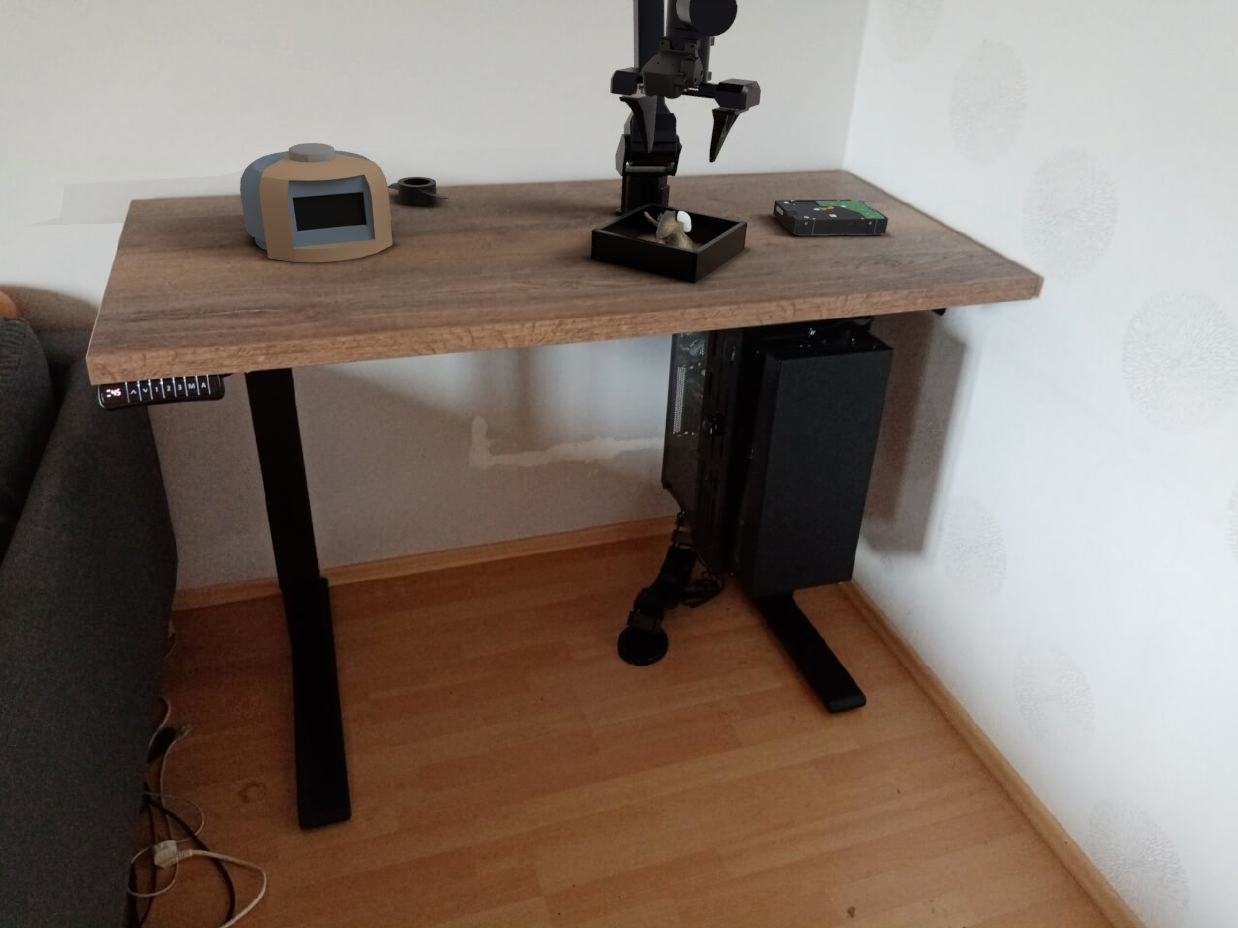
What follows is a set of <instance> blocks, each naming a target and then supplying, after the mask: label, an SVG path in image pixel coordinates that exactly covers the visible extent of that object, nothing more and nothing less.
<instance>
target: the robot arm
mask: <svg viewBox="0 0 1238 928" xmlns="http://www.w3.org/2000/svg"><path fill="white" fill-rule="evenodd" d="M666 2H667V3H666V18H665V0H632V9H633V11H632V13H633V19H632V20H633V22H632V23H633V66H630V67H629V66H628V67H625V68H621V69H616V70H615V71H613V73H612V75H611V78H610V83H609V84H610V85H609V86H610V87H609V88H610V89H609V93H610V94H612V95H619V96H618V99H619V101H620V102H622V103H625V104H626V105H627V107H628V108H629V109H630V110H631V112H630V113H629V114H628V117H627V118H626V120H625V122H624V124H623V133H622V134H621V136H620V139H619V141H618V145H617V149H616V152H615V158H614V159H615V170H616V171H617V173H618V175H620V177H621V192H620V194H621V195H620V207H619V208H617V209H615V214H617V215H620V216H622V215H624V214H626V213H628V212H630V211H632V210H634V209H636V208H638V207H640V206H642V205H644V204H646V203H648V202H650V203H655V204H660V205H665V206H669V203H670V188H671V185H670V184H669V183H668V178H669V177H676V175H677V172H678V166H679V161H680V156H681V152H682V149H683V144H682V143H681V139H680V136H679V134H678V133H677V117H676V114H675V113H674V112H671V111H670V109H669V107H668V106H667V103H666V99H667V100H676V99H678V98H680V97H681V96H687V97H695V98H702V99H703V98H704V99H711V100H714V101H715V102H716V104H717V105H718V107H714V108H712V109H711V113H712V119H713V122H712V123H713V124H712V131H711V132H712V133H711V136H710V137H711V138H710V144H709V154H708V161H709V162H708V163H711V164H712V163H713V164H714V163H715V162H716V160H717V159H718V155H719V154H720V152H721V149H722V148H723V146H724V143H725V142H726V139H727V137H728V135H729V133H730V131H731V129H732V128H733V126H734V124H735V123H736V121H737V119H738V118H739V116H740V115H741V114H743V113H746V112H749V110H750V108H753V107H756V106H758V105H760V102H761V94H762V89H761V85H760V84H759V82H758V81H757V80H750V79H742V78H733V77H731V78H728V79H724V80H721V81H718V82H717V83H716V82H715V83H714V82H710V81H712V77H713V72H712V71H709V69H710V56H711V47H713V46H715V42H716V41H715V39H716V37H718V36H720V35H723V34H725V33H727V31H729V30H730V29H731V27H732V26H733V25H734V23H735V20H736V19H737V15H738V7H739V6H738V2H737V0H667V1H666ZM620 95H621V96H620Z"/></svg>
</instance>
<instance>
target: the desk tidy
mask: <svg viewBox="0 0 1238 928" xmlns="http://www.w3.org/2000/svg"><path fill="white" fill-rule="evenodd" d="M667 210H668V211H673V212H674V211H675V221H676V220H677V214H678V212H679V211H684V212H685V213H687V214H688V215H689V216H690V220H691V230H690V231H689V232H684V233H685V234H686V235H687V236H688V237H689V238H690V239H691V241H692V242H698V243H703V245H702V246H700V247H699V248H697V249H695V251H694V250H689V249H685V248H680V247H676V246H671V244H669V245H667V244H662V243H658V241H653V240H648V239H643V238H639V237H642V236H643V235H645V234H647V233H648V232H651V233H655V234H656V231H657V227H656V226H655V225H654V224H652V223H651V222H650V221H649V220H648V219H647V218H646V216H645V214H644V212H647V213H648V214H649V216H650V217H652V218H653V219H654V220H656V221H658V216H659V214H660V213H661V214H662V216H663V214H664V213H665V211H667ZM747 229H748V221H744V220H738V219H734V218H729V217H725V216H720V215H714V214H709V213H705V212H701V211H700V212H699V211H694V210H690V209H685V208H680V207H676V206H675V207H674V206H670V205H668V206H665V205H660V204H655V203H650V202H648V203H646V204H644V205H642V206H640V207H638V208H636V209H634V210H632V211H630V212H628V213H626V214H624V215H620V216H618V217H616V218H613V219H612V220H610V221H608V222H605V223H603V224H602V225H599V226H597V227H595V228H593V229H592V230H591V236H590V237H591V241H590V260H594V261H598V262H603V263H607V264H610V265H615V266H620V267H624V268H628V269H633V270H637V271H641V272H645V273H649V274H653V275H657V276H663V277H667V278H671V279H675V280H680V281H683V282H689V283H693V284H696V283H697V282H699V281H700V280H702V279H703V278H705V277H706V276H707V275H709V274H711V273H712V272H714V271H715V270H717V269H718V268H719V267H721V266H723V265H724V264H725V263H727V262H728V261H730V260H732V259H733V258H734V257H736V256H737V255H739V254H740V253H741V252H743V251H745V247H746V238H747Z"/></svg>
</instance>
